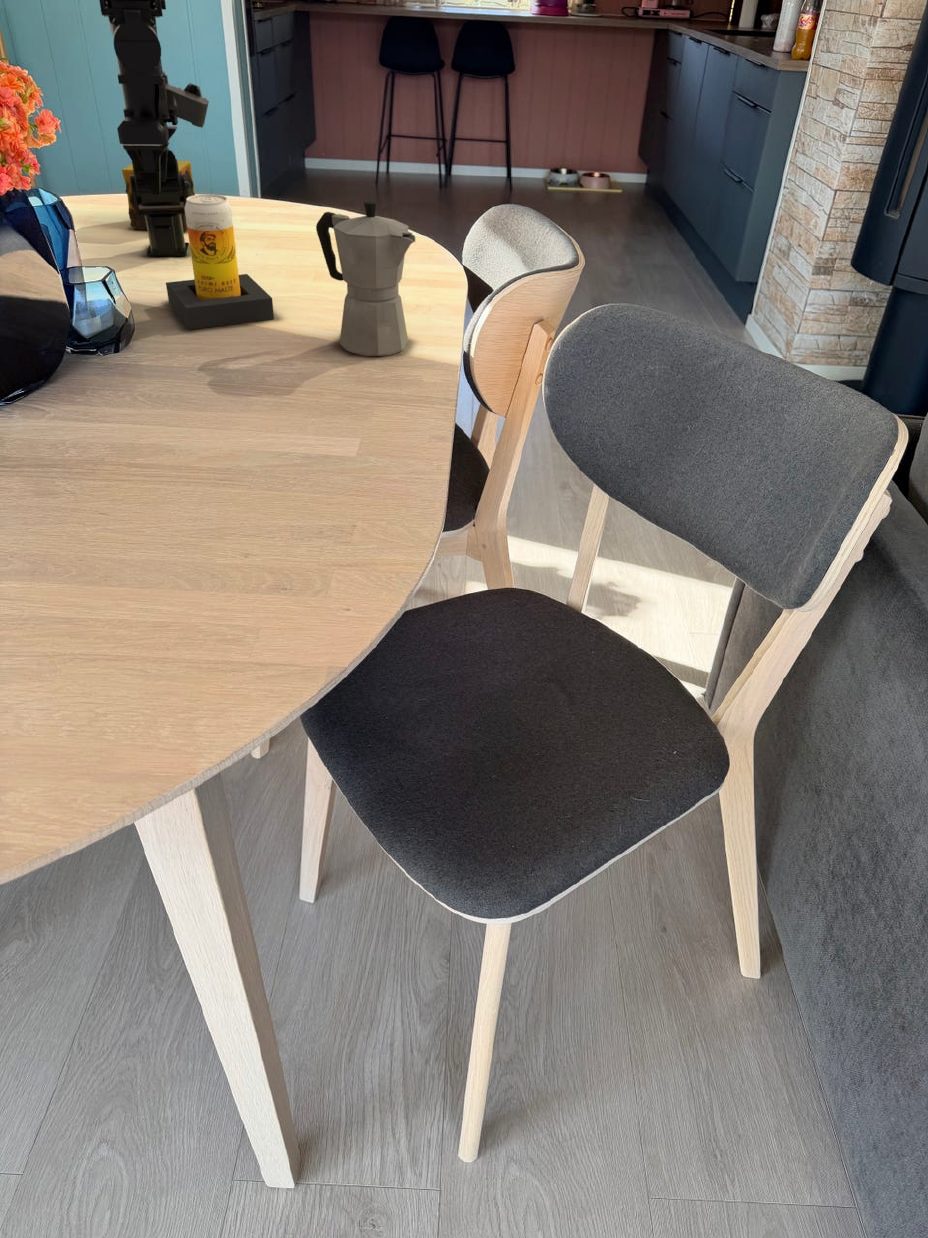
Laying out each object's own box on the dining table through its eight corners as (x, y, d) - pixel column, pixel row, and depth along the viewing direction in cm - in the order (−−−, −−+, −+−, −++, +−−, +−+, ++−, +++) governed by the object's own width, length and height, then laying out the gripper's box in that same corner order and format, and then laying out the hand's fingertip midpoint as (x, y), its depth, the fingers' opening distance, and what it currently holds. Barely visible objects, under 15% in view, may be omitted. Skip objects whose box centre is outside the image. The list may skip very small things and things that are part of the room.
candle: (186, 232, 162) (178, 171, 156) (130, 230, 162) (119, 169, 156) (200, 218, 170) (193, 160, 164) (147, 216, 170) (137, 157, 164)
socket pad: (168, 303, 131) (165, 282, 129) (249, 293, 136) (247, 273, 134) (189, 329, 123) (186, 307, 121) (274, 318, 127) (272, 297, 126)
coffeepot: (434, 345, 121) (436, 202, 111) (392, 366, 115) (390, 216, 104) (345, 321, 128) (339, 183, 117) (301, 339, 121) (290, 195, 111)
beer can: (198, 318, 126) (182, 204, 117) (199, 304, 131) (184, 193, 122) (242, 317, 128) (229, 203, 118) (242, 303, 132) (230, 193, 123)
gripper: (195, 74, 117) (211, 202, 127) (204, 58, 132) (218, 174, 141) (106, 72, 116) (129, 203, 125) (125, 56, 130) (144, 174, 140)
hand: (159, 188), depth 133 cm, fingers open, 9 cm apart
